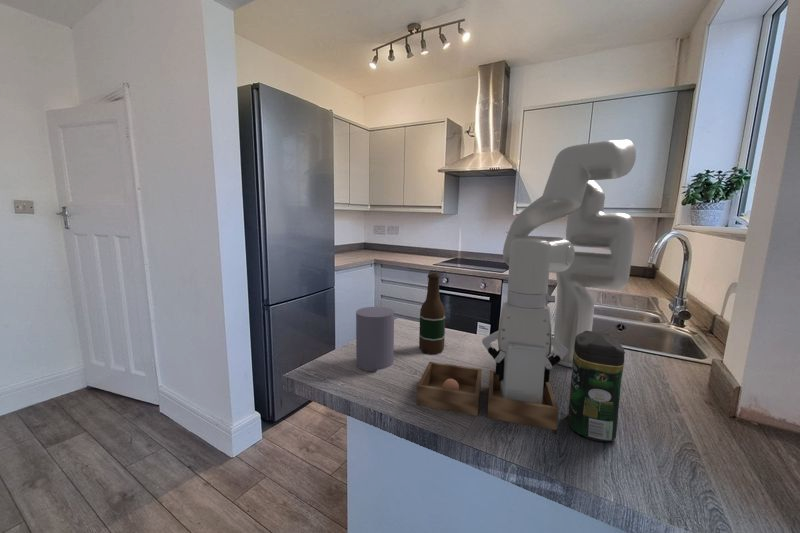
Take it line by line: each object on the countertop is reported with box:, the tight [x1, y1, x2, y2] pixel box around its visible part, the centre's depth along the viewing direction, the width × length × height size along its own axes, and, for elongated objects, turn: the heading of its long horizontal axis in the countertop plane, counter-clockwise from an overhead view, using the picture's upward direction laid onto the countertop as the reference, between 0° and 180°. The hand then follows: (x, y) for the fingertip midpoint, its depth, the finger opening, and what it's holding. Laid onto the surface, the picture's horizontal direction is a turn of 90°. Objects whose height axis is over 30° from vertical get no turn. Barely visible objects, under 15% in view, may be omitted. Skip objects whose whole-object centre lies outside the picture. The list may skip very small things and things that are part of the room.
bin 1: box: [416, 361, 483, 417], centre depth 72 cm, size 13×13×5 cm
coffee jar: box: [568, 330, 626, 442], centre depth 61 cm, size 10×8×19 cm
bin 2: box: [487, 369, 559, 435], centre depth 68 cm, size 13×13×5 cm
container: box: [355, 306, 395, 373], centre depth 88 cm, size 10×10×15 cm
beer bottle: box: [418, 272, 446, 355], centre depth 98 cm, size 8×8×24 cm
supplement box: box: [500, 344, 546, 404], centre depth 67 cm, size 7×7×13 cm
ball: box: [443, 379, 459, 391], centre depth 72 cm, size 4×4×4 cm
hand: (521, 380), depth 67 cm, fingers closed on supplement box, 7 cm apart
